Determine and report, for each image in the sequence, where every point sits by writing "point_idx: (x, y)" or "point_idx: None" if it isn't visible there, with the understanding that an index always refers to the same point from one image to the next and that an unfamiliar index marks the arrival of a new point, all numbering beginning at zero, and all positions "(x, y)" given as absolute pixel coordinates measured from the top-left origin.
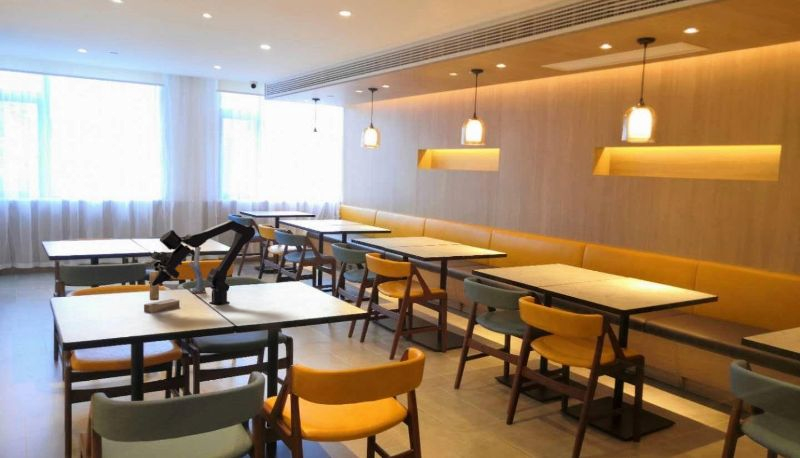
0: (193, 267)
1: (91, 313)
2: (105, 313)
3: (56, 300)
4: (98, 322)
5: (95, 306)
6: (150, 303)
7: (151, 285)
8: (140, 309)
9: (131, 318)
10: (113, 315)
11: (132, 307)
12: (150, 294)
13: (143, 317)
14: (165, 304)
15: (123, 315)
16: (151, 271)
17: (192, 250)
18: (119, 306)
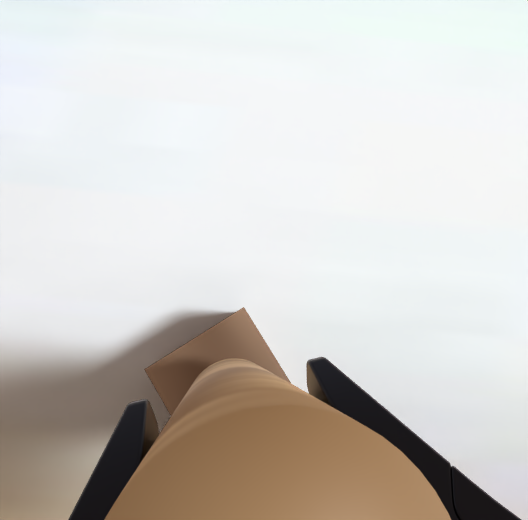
0: None
1: (288, 4)
2: (260, 72)
3: None
4: (6, 11)
5: (482, 43)
6: (259, 365)
7: (186, 395)
8: (315, 293)
9: (28, 205)
10: (180, 108)
11: (399, 245)
12: (211, 368)
13: (21, 288)
14: None
15: (153, 165)
16: (345, 491)
17: None
18: (452, 169)
